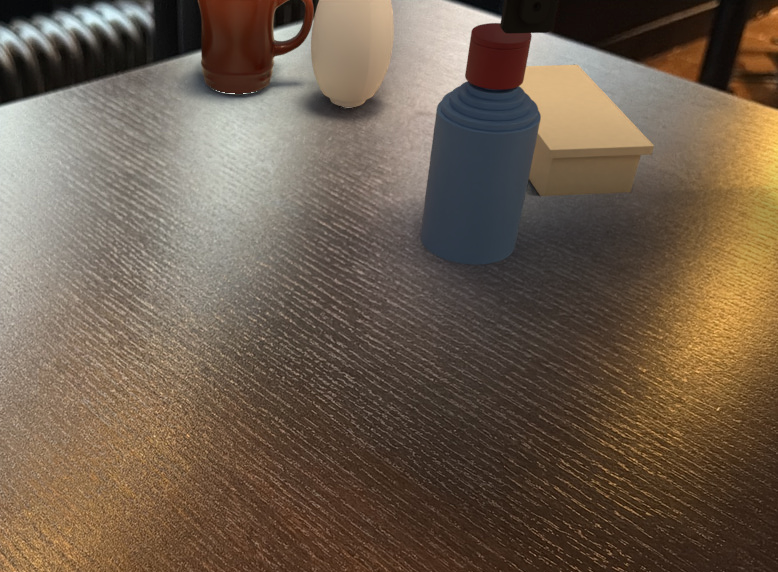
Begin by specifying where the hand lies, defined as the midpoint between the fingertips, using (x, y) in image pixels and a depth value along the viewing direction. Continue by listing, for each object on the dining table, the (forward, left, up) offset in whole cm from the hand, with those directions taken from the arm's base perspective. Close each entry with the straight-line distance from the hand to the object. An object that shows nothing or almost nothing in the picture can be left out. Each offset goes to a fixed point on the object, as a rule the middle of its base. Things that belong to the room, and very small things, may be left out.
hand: (502, 5), depth 66 cm
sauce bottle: (+4, -30, -20) cm, 36 cm away
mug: (+13, -36, -20) cm, 43 cm away
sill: (-13, -17, -19) cm, 29 cm away
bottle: (0, 0, -19) cm, 19 cm away
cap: (0, 0, -5) cm, 5 cm away
